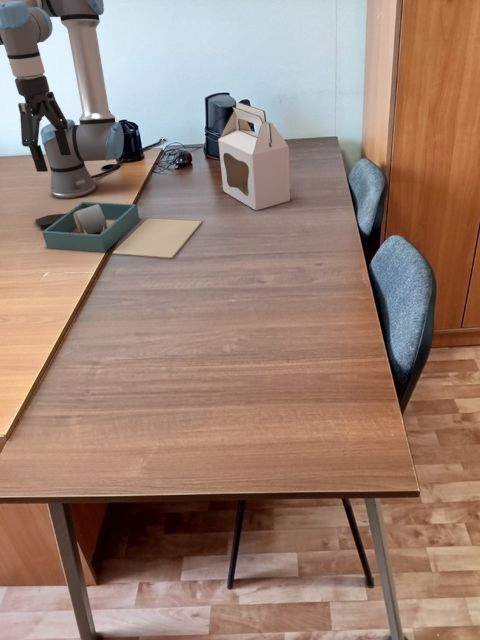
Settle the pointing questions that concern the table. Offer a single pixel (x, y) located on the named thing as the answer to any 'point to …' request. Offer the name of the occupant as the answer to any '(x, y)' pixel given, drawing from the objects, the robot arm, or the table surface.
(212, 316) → the table surface
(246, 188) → the gable box
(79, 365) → the table surface
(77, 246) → the teal rectangular frame
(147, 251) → the mat
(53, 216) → the dark sector wedge
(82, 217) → the ceramic mug
